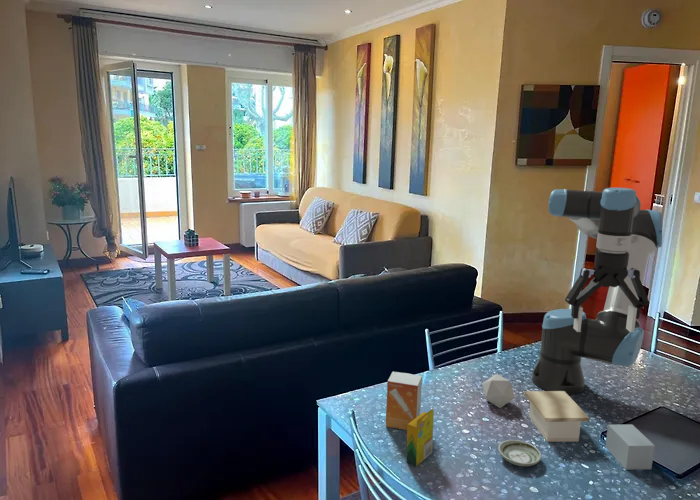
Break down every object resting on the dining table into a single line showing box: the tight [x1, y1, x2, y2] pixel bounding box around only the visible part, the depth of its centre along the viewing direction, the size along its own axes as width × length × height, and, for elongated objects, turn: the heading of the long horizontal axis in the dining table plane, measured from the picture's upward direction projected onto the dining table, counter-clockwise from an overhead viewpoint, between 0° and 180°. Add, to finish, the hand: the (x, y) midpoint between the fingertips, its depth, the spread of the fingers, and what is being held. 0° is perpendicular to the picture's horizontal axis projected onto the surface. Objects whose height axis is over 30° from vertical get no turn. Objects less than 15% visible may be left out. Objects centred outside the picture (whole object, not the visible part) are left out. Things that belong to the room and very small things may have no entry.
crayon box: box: [406, 408, 434, 467], centre depth 120 cm, size 7×3×12 cm, turn 140°
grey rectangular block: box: [604, 423, 656, 471], centre depth 122 cm, size 6×9×6 cm, turn 2°
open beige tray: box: [528, 402, 582, 443], centre depth 134 cm, size 8×12×6 cm, turn 2°
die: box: [481, 373, 516, 409], centre depth 147 cm, size 8×9×10 cm
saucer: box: [497, 439, 542, 467], centre depth 121 cm, size 10×10×2 cm
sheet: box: [523, 390, 590, 423], centre depth 133 cm, size 11×14×1 cm
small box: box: [385, 371, 423, 431], centre depth 135 cm, size 8×6×13 cm
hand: (603, 330), depth 134 cm, fingers open, 13 cm apart
